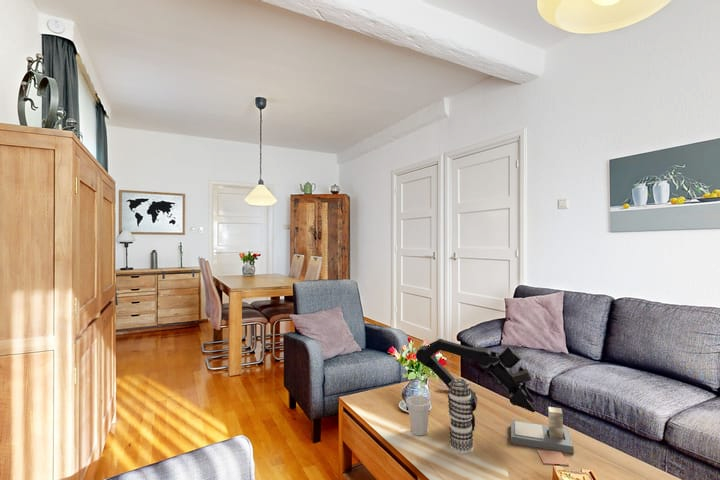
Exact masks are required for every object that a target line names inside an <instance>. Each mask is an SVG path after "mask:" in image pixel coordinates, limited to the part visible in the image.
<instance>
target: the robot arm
mask: <svg viewBox="0 0 720 480" xmlns="http://www.w3.org/2000/svg"><path fill="white" fill-rule="evenodd" d="M429 345H430V346H429ZM440 351H444V352H447V353H451V354H453V355H457V356H460V357H464V358H467V359H469V360H471V361H473V362H474V363H475V364H478V365H480V366H483V369H484V370H483V371H484V375H488V373H490V374H491V375H492V376H493V377H494V378H495V379H496V380H497V381H498V382H499V385H500V386H503V387H504V388H505V389H506V390H507V393H508V394H509V403H510V404H511V405H512V406H517V407H520V408H522V409H525V410H527V411H529V412H531V413H535V412H536V409H535V408H534V407H533V405H532V404H531V403H534V402H535V400H534V398H533V397H532V396H531V394H530V392H529V390H528V389H527V387H526V382H530V381H532V376H531V373H530V372H529V369H528V368H524V367H523V366H518V371H516V372H513V371H511V370H508V369H512V368H513V367H515V366H516V365H517V364H518V363H520V361H522V357H521V355H520V354H519V353H518V352H517V351H516V350H514V349H513V348H511V347H510V346H506V347H505V349H504V350H502V351H501V352H496V351H493V350H492V351H491V350H490V349H489V348H487V347H481V346H480V347H479V346H478V347H477V346H476V347H475V346H473V347H471V346H466V345H463V344H459V343H455V342H452V341H448V340H445V339H443V338H437V339H436V340H434V341H433V342H431V343H429V344H427V345H425V344H424V345H421V346H420V347H419V348H418V350H417V351H416V353H415V358H416V361H418V362H419V363H421V364H422V365H423V366H424V367H427V368H428V369H430V370H432V372H433V373H434V374H435V376H437V377H438V379H439V380H440V381H442V383H445V384H446V385H447V386H448V388H449V389H450V386H449V383H450V382H451V381H452V380H454V379H456V378H455V377H454V376H453V375H452V374H451V373H450V372H449V371H448V370H447V369H446V368H445V367H444V365H442V364H441V362H439V360H438V358H437V357H436V353H438V352H440ZM448 388H447V389H448ZM449 389H448V390H449ZM470 393H471V396H472V397H473V400H472V401H473V404H472V405H471V406H472V407H473V409H472V411H473V413H472V414H471V415H472V419H471V424H472V430H473V431H475V427H476V418H475V414H474V411H476V409H477V406H478V397H477V396H476V394H477V393H476V392H474V391H473V390H472V388H471V387H470Z"/></svg>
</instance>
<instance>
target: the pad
mask: <svg viewBox="0 0 720 480" xmlns="http://www.w3.org/2000/svg"><path fill="white" fill-rule="evenodd" d="M536 452H537V454H538V455H539V458H540V459H541V461H542V463H543V465H550V466H555V465H554V464H561V465H560V466H563V465H570V464H569V462H568V461H567V459H566V458H565V456H564V454H563V453H562V451H556V450H543V449H537V450H536Z"/></svg>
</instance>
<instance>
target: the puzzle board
mask: <svg viewBox="0 0 720 480" xmlns="http://www.w3.org/2000/svg"><path fill="white" fill-rule="evenodd" d="M510 443H511V444H515V445H522V446H526V447H527V446H528V447H533V448H534V447H535V448H539V449H545V450H549V451H559V452H561V453H562V452H563V453H568V454H574V452H575V450H574V449H575V448H574V443H573V440H572V437H571V434H570V430H569V428H568V427H563V439H556V438H550V437H549V424H541V423H536V422H528V421H520V420H515V419H511V420H510Z"/></svg>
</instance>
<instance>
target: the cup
mask: <svg viewBox="0 0 720 480" xmlns="http://www.w3.org/2000/svg"><path fill="white" fill-rule="evenodd" d="M405 401H406V406H407V410H408V416H409V421H410V423H409V424H410V429H411V433H412V434H413V435H416V436H424V435H426V434H427V433H428V427H429V426H428V424H429V417H430V416H429V415H430V408H431V403H432V400H431V399H430V397H429V398H428V397H427V396H424V395H412V396H409V397H407V398H406V400H405Z"/></svg>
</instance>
